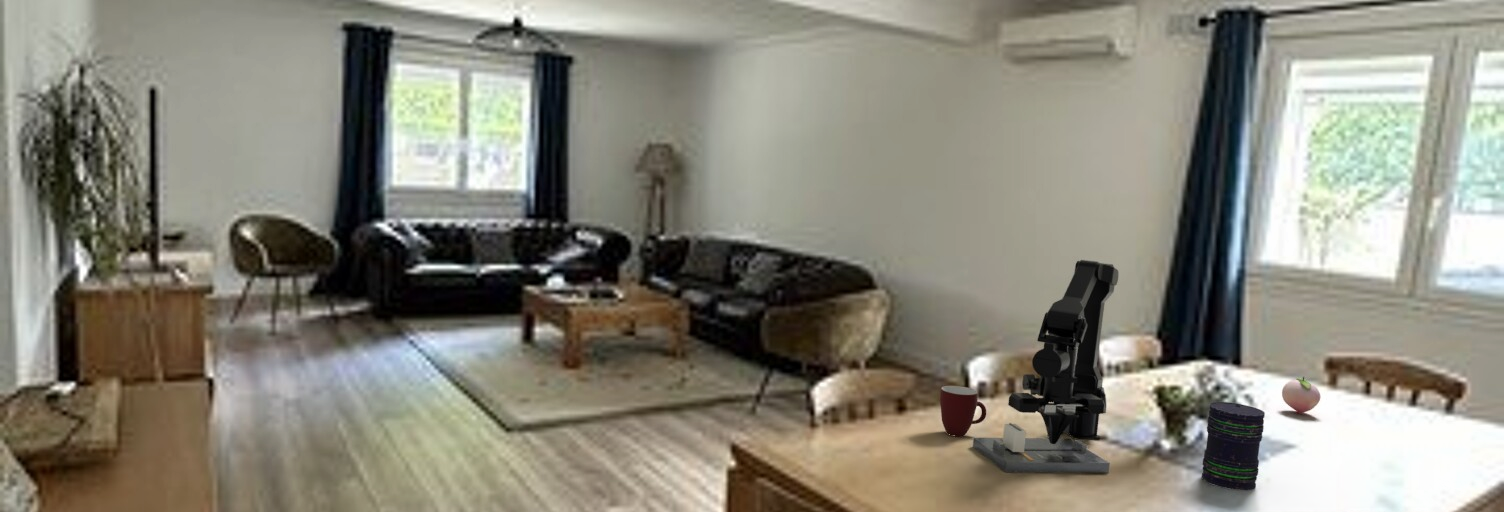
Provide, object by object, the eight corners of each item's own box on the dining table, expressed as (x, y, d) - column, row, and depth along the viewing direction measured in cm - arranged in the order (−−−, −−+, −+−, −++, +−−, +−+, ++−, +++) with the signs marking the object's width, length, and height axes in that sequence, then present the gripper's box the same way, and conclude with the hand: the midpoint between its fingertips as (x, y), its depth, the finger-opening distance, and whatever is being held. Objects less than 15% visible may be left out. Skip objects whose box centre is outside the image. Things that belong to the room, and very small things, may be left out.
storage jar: (1254, 494, 175) (1263, 418, 174) (1198, 482, 180) (1206, 408, 179) (1257, 481, 184) (1266, 408, 182) (1203, 469, 189) (1212, 399, 187)
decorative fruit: (1273, 407, 248) (1278, 371, 247) (1306, 410, 247) (1310, 374, 246) (1289, 416, 239) (1293, 379, 238) (1322, 419, 238) (1327, 382, 237)
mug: (973, 428, 209) (977, 385, 208) (991, 439, 201) (995, 394, 200) (931, 429, 206) (934, 385, 205) (947, 440, 199) (951, 395, 198)
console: (1068, 447, 199) (1069, 431, 198) (1108, 472, 183) (1110, 455, 183) (972, 446, 195) (974, 430, 194) (1005, 472, 179) (1007, 454, 179)
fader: (1013, 444, 190) (1015, 423, 190) (1024, 452, 185) (1026, 430, 185) (1002, 444, 190) (1004, 423, 189) (1012, 451, 185) (1015, 429, 185)
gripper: (1081, 361, 197) (1074, 432, 199) (1000, 359, 194) (993, 431, 195) (1109, 374, 186) (1102, 448, 188) (1024, 372, 183) (1017, 448, 184)
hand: (1052, 443), depth 189 cm, fingers closed
